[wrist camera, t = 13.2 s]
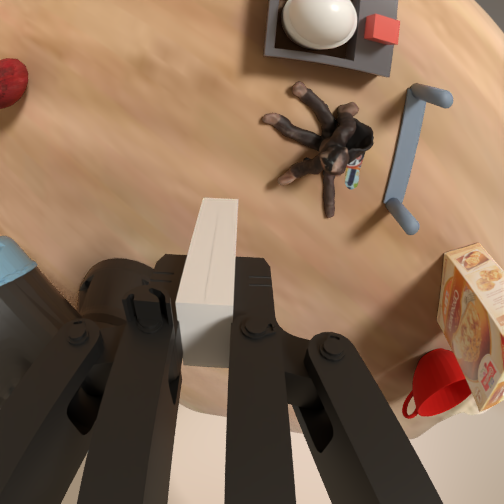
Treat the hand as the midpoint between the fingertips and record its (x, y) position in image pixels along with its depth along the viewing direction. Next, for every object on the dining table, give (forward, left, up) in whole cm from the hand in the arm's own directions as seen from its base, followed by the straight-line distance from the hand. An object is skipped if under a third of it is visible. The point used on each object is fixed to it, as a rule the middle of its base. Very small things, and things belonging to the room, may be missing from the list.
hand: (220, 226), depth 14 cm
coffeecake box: (+36, -18, -21) cm, 45 cm away
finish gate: (+19, +1, -20) cm, 28 cm away
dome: (+7, +13, -20) cm, 24 cm away
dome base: (+8, +13, -20) cm, 25 cm away
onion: (-26, +8, -21) cm, 34 cm away
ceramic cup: (+40, -39, -21) cm, 60 cm away
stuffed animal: (+9, -1, -21) cm, 23 cm away
